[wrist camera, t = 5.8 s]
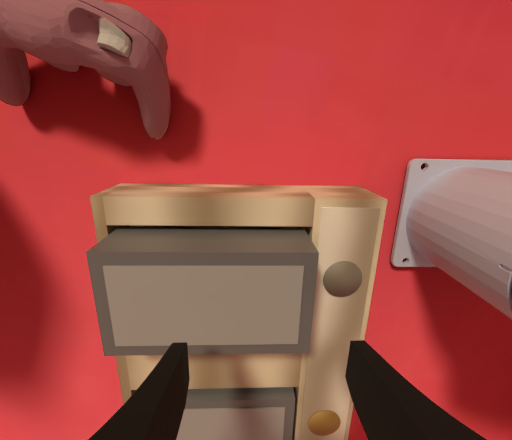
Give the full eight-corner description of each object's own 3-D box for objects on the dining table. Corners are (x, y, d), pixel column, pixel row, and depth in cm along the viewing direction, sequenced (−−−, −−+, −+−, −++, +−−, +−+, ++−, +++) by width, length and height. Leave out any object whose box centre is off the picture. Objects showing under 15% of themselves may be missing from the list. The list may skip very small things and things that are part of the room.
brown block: (287, 359, 23) (295, 400, 19) (284, 414, 25) (290, 460, 21) (149, 361, 22) (132, 403, 19) (156, 417, 24) (141, 465, 21)
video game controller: (185, 85, 19) (168, -15, 12) (168, 148, 18) (140, 78, 11) (29, 44, 18) (-87, -92, 11) (5, 109, 17) (-137, 6, 10)
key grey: (304, 228, 17) (319, 253, 14) (297, 313, 19) (309, 354, 15) (118, 227, 16) (85, 252, 13) (129, 314, 18) (103, 357, 15)
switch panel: (359, 186, 20) (389, 200, 16) (329, 418, 26) (344, 469, 22) (120, 183, 19) (87, 197, 15) (150, 422, 26) (133, 476, 22)
